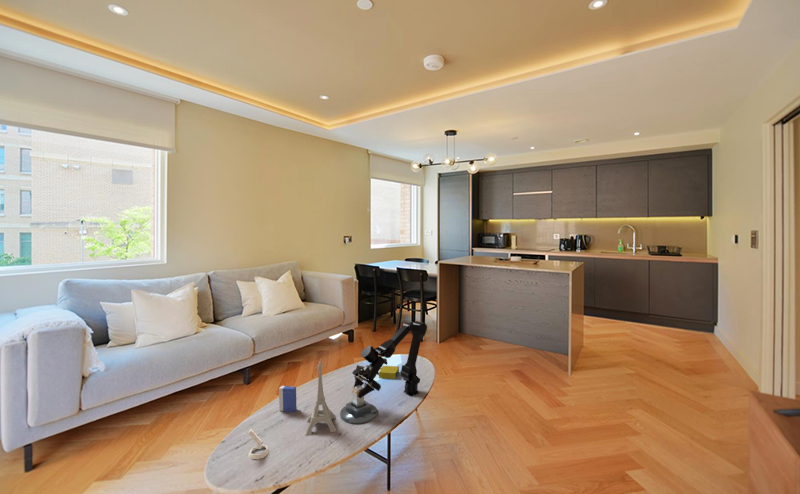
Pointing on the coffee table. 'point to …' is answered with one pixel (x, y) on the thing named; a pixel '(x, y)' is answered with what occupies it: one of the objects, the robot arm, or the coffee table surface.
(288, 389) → the walkman
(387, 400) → the coffee table surface
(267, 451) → the hook
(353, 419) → the square socket base
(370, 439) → the coffee table surface
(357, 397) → the square box
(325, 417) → the eiffel tower
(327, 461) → the coffee table surface
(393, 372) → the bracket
